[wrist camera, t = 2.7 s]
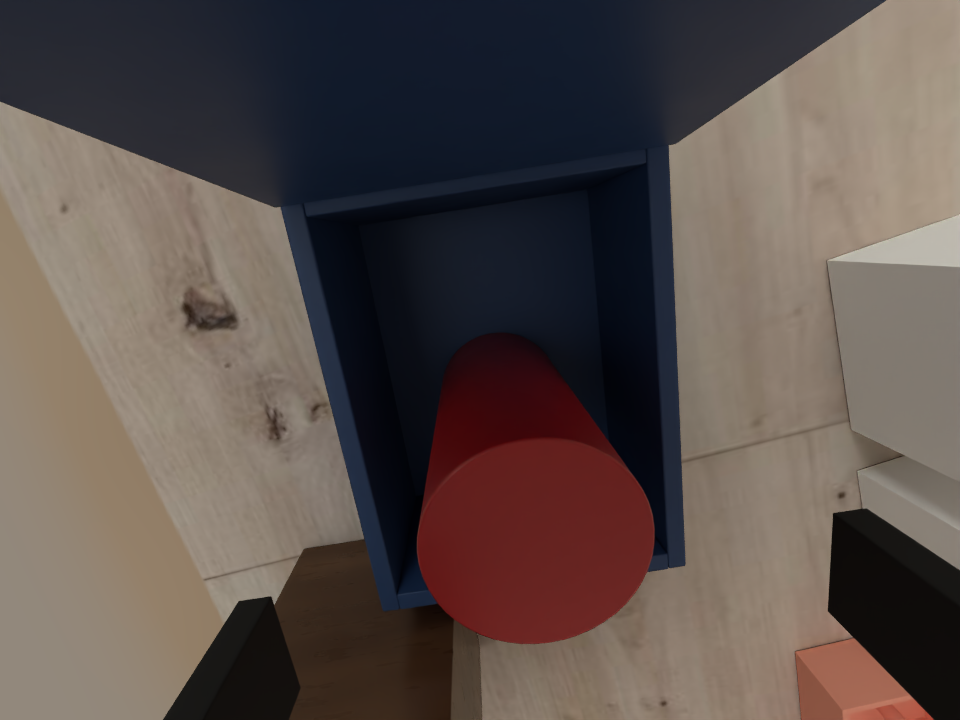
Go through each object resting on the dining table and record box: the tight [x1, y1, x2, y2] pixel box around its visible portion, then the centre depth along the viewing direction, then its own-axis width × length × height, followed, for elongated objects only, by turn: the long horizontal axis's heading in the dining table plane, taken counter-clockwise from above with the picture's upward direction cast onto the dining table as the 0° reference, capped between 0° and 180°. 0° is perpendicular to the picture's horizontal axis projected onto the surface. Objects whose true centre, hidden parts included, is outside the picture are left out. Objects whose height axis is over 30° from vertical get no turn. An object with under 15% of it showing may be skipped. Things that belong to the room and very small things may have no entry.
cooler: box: [281, 145, 685, 612], centre depth 22 cm, size 18×14×9 cm
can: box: [417, 333, 655, 644], centre depth 19 cm, size 7×7×14 cm
